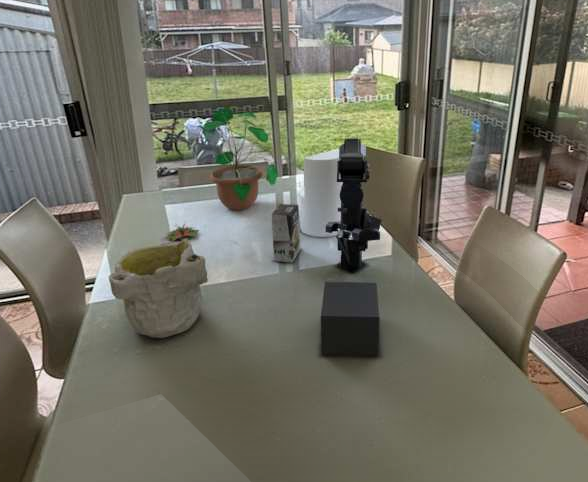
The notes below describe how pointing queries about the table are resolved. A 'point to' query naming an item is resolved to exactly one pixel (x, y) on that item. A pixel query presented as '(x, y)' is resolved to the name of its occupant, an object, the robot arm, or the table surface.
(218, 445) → the table surface
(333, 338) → the dark grey rectangular box
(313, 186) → the cylinder
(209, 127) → the potted plant
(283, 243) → the coffee box
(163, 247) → the ceramic vessel
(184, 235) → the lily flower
